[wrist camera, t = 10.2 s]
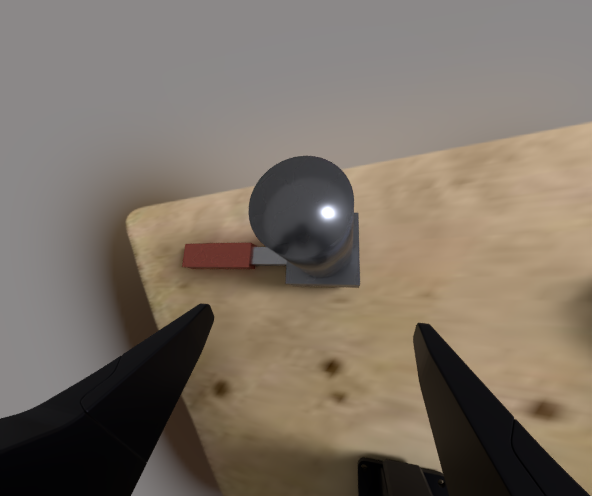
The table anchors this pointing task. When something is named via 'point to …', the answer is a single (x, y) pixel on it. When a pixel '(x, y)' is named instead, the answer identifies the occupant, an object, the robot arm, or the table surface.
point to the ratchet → (229, 256)
